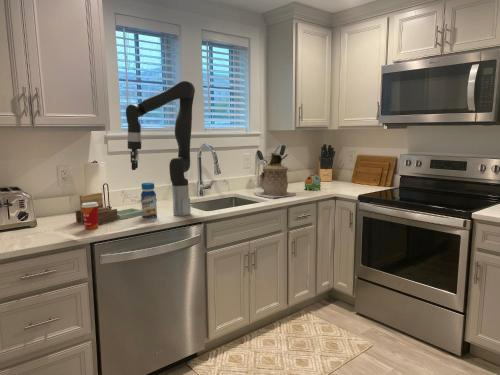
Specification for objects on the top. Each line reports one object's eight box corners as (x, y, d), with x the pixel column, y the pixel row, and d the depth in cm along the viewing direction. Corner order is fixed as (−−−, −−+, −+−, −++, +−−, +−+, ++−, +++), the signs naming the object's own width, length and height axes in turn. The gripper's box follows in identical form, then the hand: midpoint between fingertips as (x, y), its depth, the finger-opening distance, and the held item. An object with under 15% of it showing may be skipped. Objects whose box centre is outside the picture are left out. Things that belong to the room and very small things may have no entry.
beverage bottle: (159, 217, 211) (158, 182, 208) (153, 220, 203) (151, 184, 200) (145, 217, 213) (143, 182, 210) (139, 220, 205) (137, 184, 202)
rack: (118, 222, 200) (117, 209, 199) (91, 228, 188) (90, 214, 187) (102, 219, 209) (101, 206, 208) (76, 224, 197) (75, 210, 196)
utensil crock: (298, 195, 276) (298, 152, 271) (271, 199, 262) (271, 153, 257) (277, 191, 296) (276, 150, 291) (251, 194, 282) (250, 152, 277)
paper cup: (81, 230, 184) (79, 203, 182) (98, 228, 189) (96, 201, 187) (85, 234, 178) (83, 205, 176) (102, 231, 182) (100, 203, 180)
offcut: (107, 219, 201) (106, 207, 200) (90, 223, 193) (89, 211, 192) (105, 219, 202) (104, 207, 202) (87, 222, 195) (86, 210, 194)
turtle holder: (326, 188, 306) (327, 174, 305) (314, 191, 294) (314, 176, 292) (314, 187, 315) (314, 173, 313) (301, 190, 302) (301, 175, 300)
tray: (145, 216, 213) (144, 210, 213) (120, 222, 201) (120, 215, 200) (132, 214, 221) (132, 207, 220) (108, 219, 208) (107, 212, 208)
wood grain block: (103, 218, 204) (102, 193, 202) (84, 222, 195) (82, 195, 193) (100, 217, 206) (99, 192, 204) (81, 221, 197) (79, 195, 195)
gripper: (139, 141, 206) (140, 170, 208) (142, 140, 220) (142, 167, 222) (125, 140, 205) (125, 170, 207) (129, 139, 218) (129, 167, 221)
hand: (134, 169), depth 215 cm, fingers open, 8 cm apart
